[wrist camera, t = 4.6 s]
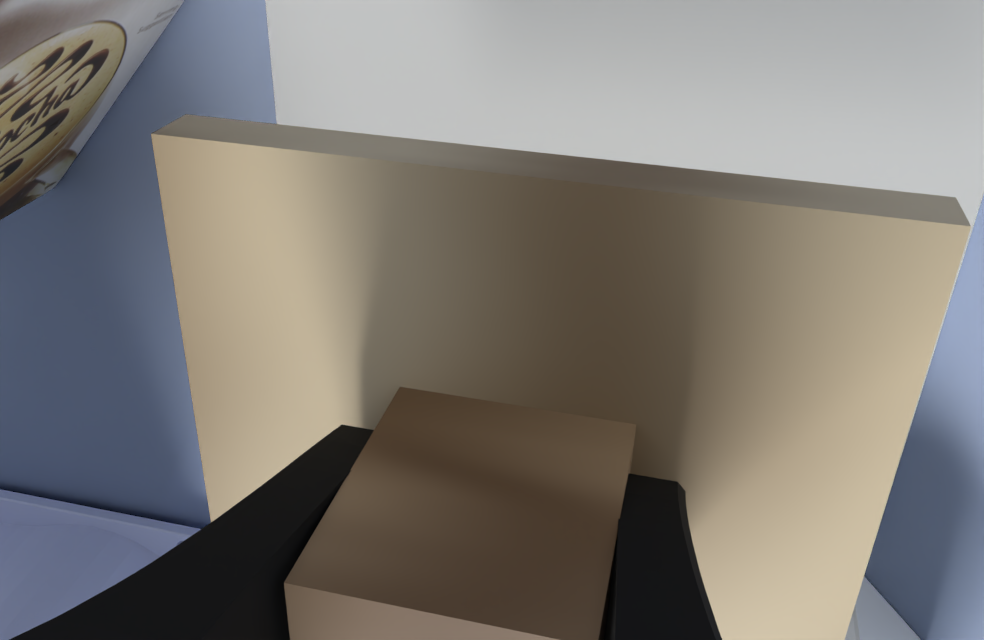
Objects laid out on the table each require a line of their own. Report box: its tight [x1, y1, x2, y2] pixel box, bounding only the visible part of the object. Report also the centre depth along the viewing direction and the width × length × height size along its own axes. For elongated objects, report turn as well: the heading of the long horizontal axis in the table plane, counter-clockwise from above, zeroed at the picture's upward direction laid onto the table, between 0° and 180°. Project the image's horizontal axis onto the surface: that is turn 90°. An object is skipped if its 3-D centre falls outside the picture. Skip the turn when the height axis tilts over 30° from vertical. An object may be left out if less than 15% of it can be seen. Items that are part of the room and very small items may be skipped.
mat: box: [265, 0, 984, 536], centre depth 19 cm, size 14×14×1 cm
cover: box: [151, 114, 971, 640], centre depth 11 cm, size 9×9×4 cm
